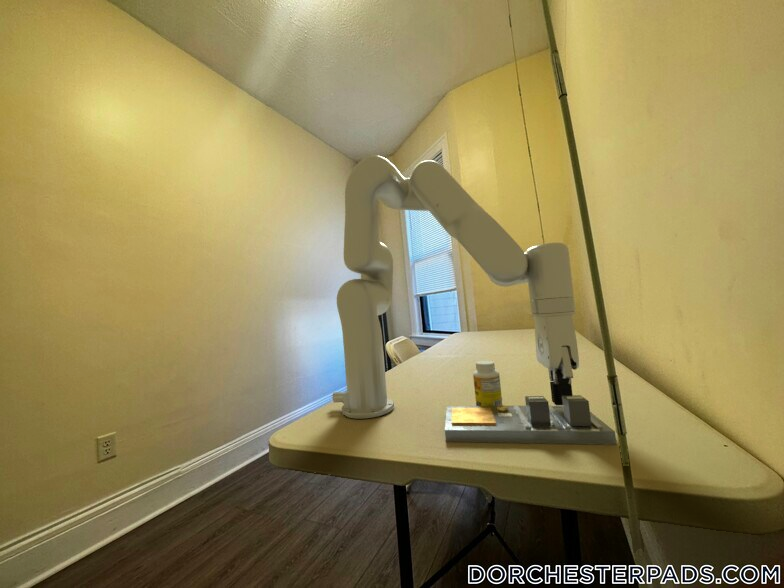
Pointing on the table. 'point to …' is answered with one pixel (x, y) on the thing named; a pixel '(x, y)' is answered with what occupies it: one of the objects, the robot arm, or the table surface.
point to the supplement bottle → (487, 384)
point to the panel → (522, 425)
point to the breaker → (576, 410)
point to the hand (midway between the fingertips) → (562, 403)
